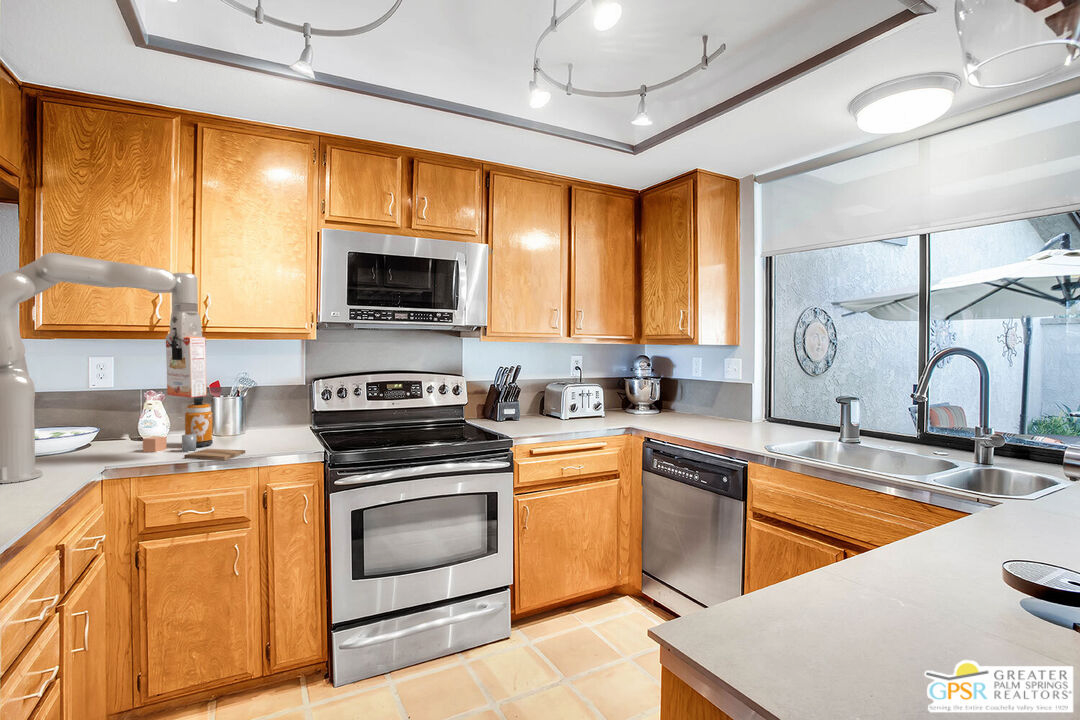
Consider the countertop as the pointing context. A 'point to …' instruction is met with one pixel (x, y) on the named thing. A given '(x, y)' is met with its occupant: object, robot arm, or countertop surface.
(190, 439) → the slate cylinder
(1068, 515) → the countertop surface
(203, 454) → the cutting board
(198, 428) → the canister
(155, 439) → the terracotta block
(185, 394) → the cracker box
